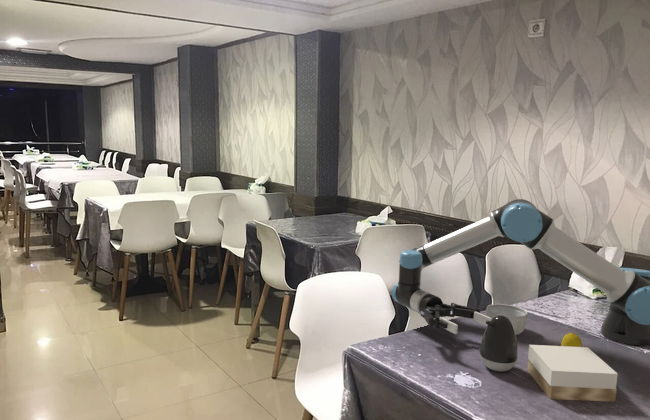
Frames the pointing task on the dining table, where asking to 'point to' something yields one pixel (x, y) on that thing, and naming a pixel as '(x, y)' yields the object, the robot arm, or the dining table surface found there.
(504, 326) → the pump dispenser
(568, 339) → the lemon
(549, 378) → the tower top
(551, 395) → the tower base
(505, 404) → the dining table surface
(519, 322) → the ramekin
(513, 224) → the robot arm
